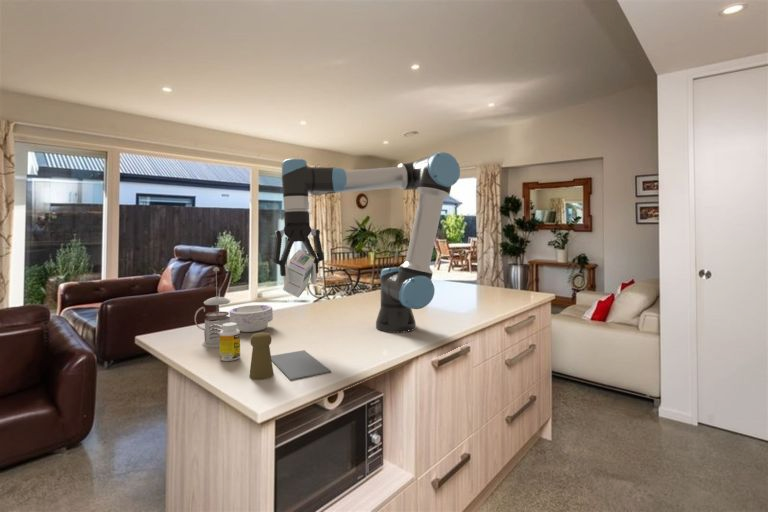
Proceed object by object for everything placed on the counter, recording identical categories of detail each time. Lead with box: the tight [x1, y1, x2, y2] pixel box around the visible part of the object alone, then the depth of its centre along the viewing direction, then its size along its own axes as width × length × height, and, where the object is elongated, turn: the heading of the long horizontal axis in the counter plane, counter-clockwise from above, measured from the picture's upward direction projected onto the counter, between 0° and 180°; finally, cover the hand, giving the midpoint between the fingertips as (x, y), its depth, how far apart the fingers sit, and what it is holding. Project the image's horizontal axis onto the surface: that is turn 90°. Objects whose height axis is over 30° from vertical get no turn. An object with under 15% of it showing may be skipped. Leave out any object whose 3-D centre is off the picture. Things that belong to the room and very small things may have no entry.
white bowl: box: [228, 304, 274, 333], centre depth 145 cm, size 15×15×8 cm
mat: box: [271, 349, 332, 382], centre depth 108 cm, size 20×11×1 cm, turn 32°
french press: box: [194, 266, 231, 348], centre depth 127 cm, size 10×12×25 cm
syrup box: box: [282, 249, 315, 298], centre depth 121 cm, size 6×6×14 cm
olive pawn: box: [249, 331, 275, 381], centre depth 100 cm, size 6×6×11 cm
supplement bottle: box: [219, 322, 241, 362], centre depth 113 cm, size 6×6×10 cm
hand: (300, 285), depth 120 cm, fingers closed on syrup box, 8 cm apart
